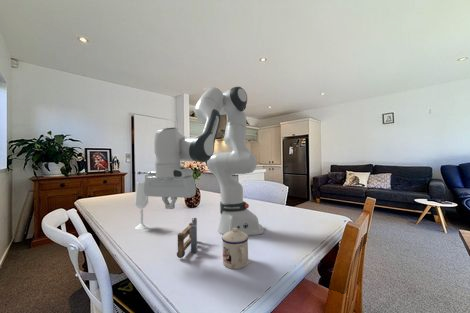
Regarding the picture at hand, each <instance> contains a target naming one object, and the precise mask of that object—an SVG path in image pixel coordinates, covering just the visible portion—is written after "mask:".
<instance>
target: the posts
mask: <svg viewBox="0 0 470 313" xmlns="http://www.w3.org/2000/svg"><path fill="white" fill-rule="evenodd" d="M191 223H194V225H191V230H190V235H191V244H190V253H191V254H196V253H197V251H198V219H197V217H192V218H191Z"/></svg>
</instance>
